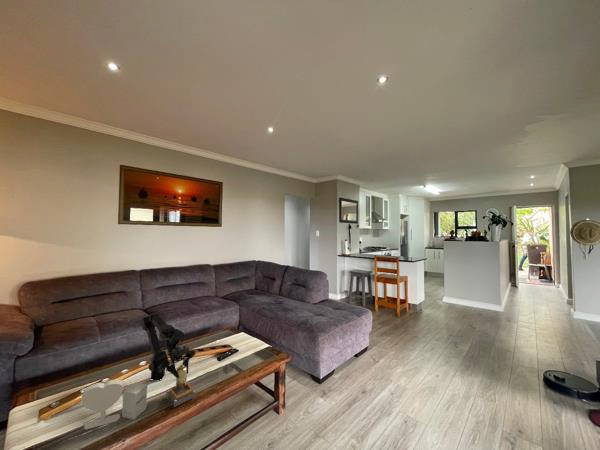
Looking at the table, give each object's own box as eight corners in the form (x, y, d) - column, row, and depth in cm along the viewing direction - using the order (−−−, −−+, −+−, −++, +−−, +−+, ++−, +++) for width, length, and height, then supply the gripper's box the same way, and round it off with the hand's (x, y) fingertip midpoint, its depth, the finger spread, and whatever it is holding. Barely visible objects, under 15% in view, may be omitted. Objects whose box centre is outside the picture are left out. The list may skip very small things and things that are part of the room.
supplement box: (134, 420, 120) (135, 394, 120) (121, 417, 121) (122, 391, 121) (146, 408, 127) (147, 384, 127) (134, 406, 128) (135, 381, 128)
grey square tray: (174, 408, 128) (174, 398, 128) (166, 397, 136) (166, 388, 136) (195, 397, 136) (195, 388, 136) (186, 388, 144) (187, 379, 144)
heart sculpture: (123, 412, 124) (124, 376, 124) (121, 419, 120) (123, 382, 119) (83, 422, 117) (84, 384, 117) (79, 431, 112) (81, 391, 112)
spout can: (174, 387, 135) (175, 365, 135) (183, 382, 139) (183, 361, 139) (179, 391, 132) (180, 369, 132) (188, 386, 136) (189, 365, 136)
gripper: (161, 348, 130) (171, 377, 124) (194, 336, 145) (205, 361, 139) (153, 357, 135) (163, 386, 129) (186, 345, 150) (196, 370, 144)
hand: (182, 375), depth 135 cm, fingers closed on spout can, 5 cm apart
